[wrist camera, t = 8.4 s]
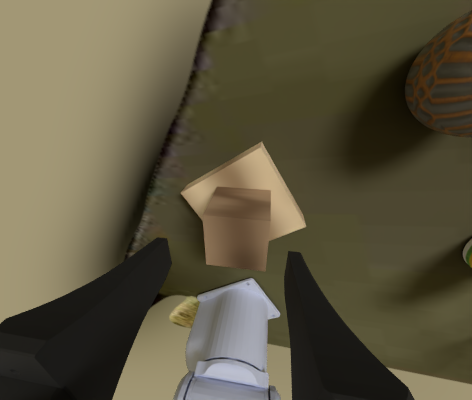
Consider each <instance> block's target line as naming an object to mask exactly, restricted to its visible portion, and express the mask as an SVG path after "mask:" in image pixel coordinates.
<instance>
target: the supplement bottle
mask: <svg viewBox="0 0 472 400" xmlns="http://www.w3.org/2000/svg"><path fill="white" fill-rule="evenodd" d="M463 258H464V260H465V262H466V263H467V264H468V265H469V266H470V267H471V268H472V239H471V240H470V241H469V242H468V243H467V244H466V246H465V247H464V250H463Z"/></svg>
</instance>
